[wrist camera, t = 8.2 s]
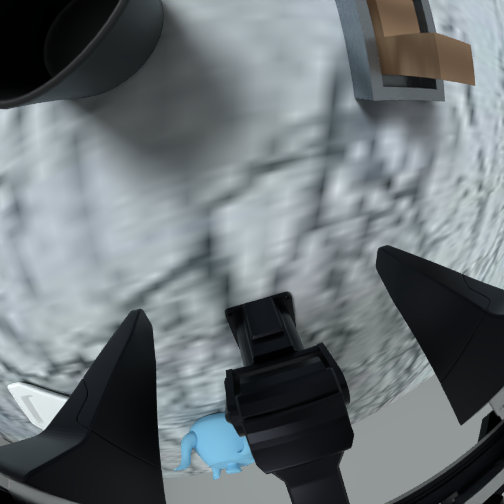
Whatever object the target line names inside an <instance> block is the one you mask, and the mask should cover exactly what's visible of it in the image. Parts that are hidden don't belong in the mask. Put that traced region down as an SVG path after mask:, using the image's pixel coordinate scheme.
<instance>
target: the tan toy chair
mask: <svg viewBox="0 0 504 504" xmlns="http://www.w3.org/2000/svg"><path fill="white" fill-rule="evenodd" d="M366 2H367V5H368V9H369V13H370V17H371V21H372V26H373V30H374V35H375V39H376V45H377V50H378V56H379V62H380V68H381V74H385V75H402V76H414V77H424V78H432V79H440V80H447V81H453V82H459V83H464V84H469V85H474V86H475V76H474V67H473V59H472V52H471V45H469V44H467V43H464V42H462V41H459V40H456V39H453V38H450V37H447V36H444V35H441V34H438V33H435V32H432V33H420V30H419V25H418V20H417V16H416V12H415V8H414V4H413V1H412V0H366Z"/></svg>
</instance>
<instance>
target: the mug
mask: <svg viewBox="0 0 504 504" xmlns="http://www.w3.org/2000/svg"><path fill="white" fill-rule="evenodd" d="M162 26H163V9H162V5H161V2H160V0H0V109H10V108H15V107H20V106H25V105H30V104H35V103H41V102H48V101H55V100H62V99H71V98H81V97H90V96H94V95H98V94H101V93H104V92H106V91H109V90H111V89H113V88H115V87H117V86H118V85H120V84H121V83H123V82H124V81H126V80H127V79H128V78H129V77H131V76H132V75H133V74H134V73H135V72H136V71H137V70H138V69H139V68H140V67H141V66H142V65H143V64H144V63H145V62H146V60H147V59H148V58H149V56H150V55H151V53H152V52H153V50H154V48H155V46H156V44H157V42H158V40H159V38H160V35H161V31H162Z"/></svg>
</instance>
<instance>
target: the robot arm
mask: <svg viewBox="0 0 504 504" xmlns="http://www.w3.org/2000/svg"><path fill="white" fill-rule="evenodd" d="M376 269H377V271H378V273H379V275H380V277H381V279H382V281H383V283H384V285H385V287H386V289H387V291H388V293H389V295H390V296H391V298H392V300H393V302H394V303H395V305H396V307H397V308H398V310H399V311H400V313H401V315H402V316H403V318H404V319H405V321H406V323H407V324H408V326H409V328H410V329H411V331H412V333H413V334H414V336H415V338H416V340H417V341H418V343H419V345H420V346H421V348H422V350H423V352H424V354H425V355H426V357H427V359H428V361H429V363H430V364H431V366H432V368H433V370H434V372H435V374H436V376H437V378H438V379H439V381H440V383H441V386H442V388H443V390H444V392H445V394H446V396H447V398H448V400H449V402H450V404H451V406H452V408H453V410H454V412H455V415H456V417H457V419H458V421H459V423H460V425H462V424H464V423H465V422H466V421H467V420H469V419H470V418H471V417H473V416H474V415H475V414H476V413H477V412H479V411H480V410H481V409H482V408H483V407H484V406H485V405H486V404H488V403H489V404H490V405H491V407H492V409H493V410H492V411H491V412H490V413H489V414H488V415H487V416H485V417H484V418H483V419H482V424H481V429H480V434H479V439H478V443H477V444H476V445H475V446H474V447H472V448H471V449H470V450H469V451H467V452H466V453H465V454H464V455H462V456H461V457H460V458H458V459H457V460H456V461H454V462H453V463H452V464H450V465H449V466H447V467H446V468H445V469H443V470H442V471H440V472H439V473H437V474H436V475H434V476H433V477H431V478H430V479H428V480H427V481H425V482H423V483H422V484H420V485H418V486H417V487H415V488H413V489H411V490H410V491H408V492H406V493H404V494H402V495H401V496H399V497H397V498H395V499H393V500H391V501H389V502H387V503H385V504H439V503H441V504H504V497H503V496H502V493H503V492H504V290H503V289H500V288H497V287H494V286H492V285H489V284H486V283H483V282H481V281H478V280H476V279H473V278H471V277H468V276H466V275H464V274H462V275H461V273H459V272H456V271H454V270H451V269H449V268H446V267H444V266H441V265H439V264H436V263H434V262H431V261H429V260H426V259H424V258H421V257H418V256H416V255H413V254H411V253H408V252H405V251H403V250H400V249H397V248H394V247H392V246H389V245H386V246H382V247H380V248H378V251H377V259H376ZM286 296H287V297H286ZM285 297H286V298H285ZM229 313H230V314H229ZM225 316H226V318H227V321H228V323H229V326H230V328H231V330H232V333H233V335H234V337H235V340H236V342H237V344H238V347H239V349H240V351H241V356H242V360H243V365H244V367H241V368H237V369H233V370H232V369H229V370H226V378H225V381H224V384H225V390H226V408H225V419H226V421H227V422H228V423H230V424H232V425H233V427H234V429H235V430H236V432H237V434H238V436H239V437H244V436H246V439H247V442H248V445H249V448H250V451H251V454H252V456H253V458H254V460H255V463H256V465H257V466H258V467H259V468H260V469H261V470H262V471H263V472H264V473H266V474H270V473H272V474H274V475H275V476H277V477H278V478H280V479H281V480H282V481H284V482H285V484H286V487H287V490H288V493H289V495H290V498H291V502H292V504H350V503H349V500H348V496H347V493H346V489H345V486H344V482H343V479H342V475H341V472H340V468H339V464H340V461H341V459H342V456H343V454H344V451H345V450H348V449H350V448H351V447H352V443H353V438H354V433H353V430H352V427H351V424H350V420H349V416H348V412H347V408H346V406H347V405H349V403H350V394H349V389H348V386H347V383H346V380H345V377H344V375H343V373H342V371H341V370H340V368H339V366H338V365H337V363H336V362H335V360H334V359H333V357H332V356H331V354H330V353H329V351H328V350H327V348H326V347H325V345H324V344H323V342H322V343H319V344H317V345H316V346H313V347H310V348H307V349H304V347H303V345H302V342H301V340H300V337H299V335H298V332H297V330H296V324H295V317H294V310H293V303H292V297H291V295H290V293H289V292H283V293H280V294H276V295H273V296H270V297H266V298H263V299H259V300H256V301H252V302H249V303H245V304H242V305H238V306H235V307H231V308H228V309H226V310H225ZM83 378H84V379H82V380H81V381H80V383H79V384H78V386H77V387H76V389H75V390H74V392H73V393H72V394H71V396H70V397H69V399H68V400H67V401H66V403H65V404H64V405H63V407H62V408H61V409H60V410H59V412H58V413H57V414H56V416H55V417H54V418H53V420H52V421H51V422H50V424H49V425H48V426H47V427H46V429H45V430H44V431H43V432H41V433H40V434H38V435H36V436H34V437H31V438H28V439H25V440H21V441H18V442H15V443H11V444H8V445H4V446H0V474H1V475H3V476H5V477H7V478H9V489H7V488H5V487H3V486H0V504H166V500H165V493H164V486H163V478H162V470H161V461H160V450H159V437H158V420H157V393H156V359H155V349H154V338H153V328H152V325H151V323H150V321H149V319H148V318H147V316H146V314H145V312H144V311H143V310H142V309H136V310H132V311H131V312H130V313H129V314H128V316H127V317H126V318H125V320H124V321H123V322H122V324H121V325H120V326H119V328H118V329H117V330H116V332H115V333H114V334H113V336H112V337H111V338H110V340H109V341H108V343H107V344H106V345H105V347H104V348H103V350H102V351H101V352H100V354H99V355H98V357H97V358H96V360H95V361H94V362H93V364H92V365H91V367H90V368H89V370H88V371H87V373H86V374H85V375H84V377H83Z"/></svg>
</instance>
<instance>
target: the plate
mask: <svg viewBox="0 0 504 504" xmlns="http://www.w3.org/2000/svg"><path fill="white" fill-rule="evenodd" d="M8 389H9V391H10V392H11V394H12V395H13V397H14V398H15V400H16V401H17V403H18V404H19V406H20V407H21V409H22V410H23V411H24V413H25V414H26V416H27V417H28V418H29V420H30V421H31V422H32V423H33V424H34V425H36V426H38V427H39V428H41V429H43V430H45V429H46V427H47V426H48V425H49V424H50V422H51V421H52V420H53V418H54V417H55V416H56V414H57V413H58V412H59V410H60V409H61V408H62V407H63V405H64V404H65V403H66V401H67V400H68V399H69V397H68V396H65V395H62V394H58V393H55V392H52V391H49V390H46V389H43V388H40V387H38V386H35V385H31V384H26V383H21V382H16V383H12V384H9V385H8Z"/></svg>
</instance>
